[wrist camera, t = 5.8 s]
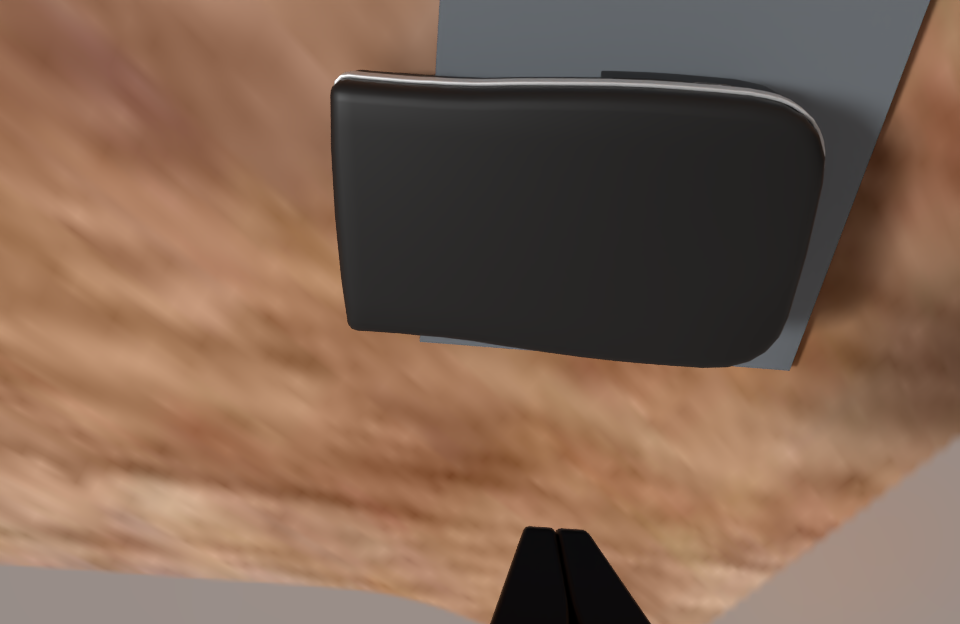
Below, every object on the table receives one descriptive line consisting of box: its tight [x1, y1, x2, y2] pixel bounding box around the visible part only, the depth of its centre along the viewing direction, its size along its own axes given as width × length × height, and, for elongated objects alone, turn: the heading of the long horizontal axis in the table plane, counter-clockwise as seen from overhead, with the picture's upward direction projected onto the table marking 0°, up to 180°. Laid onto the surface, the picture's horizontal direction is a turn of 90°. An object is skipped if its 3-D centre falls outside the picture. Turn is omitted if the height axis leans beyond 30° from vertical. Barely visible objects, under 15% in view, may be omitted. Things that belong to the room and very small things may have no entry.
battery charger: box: [330, 70, 825, 368], centre depth 19 cm, size 7×4×11 cm
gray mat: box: [420, 0, 930, 371], centre depth 19 cm, size 12×16×1 cm
